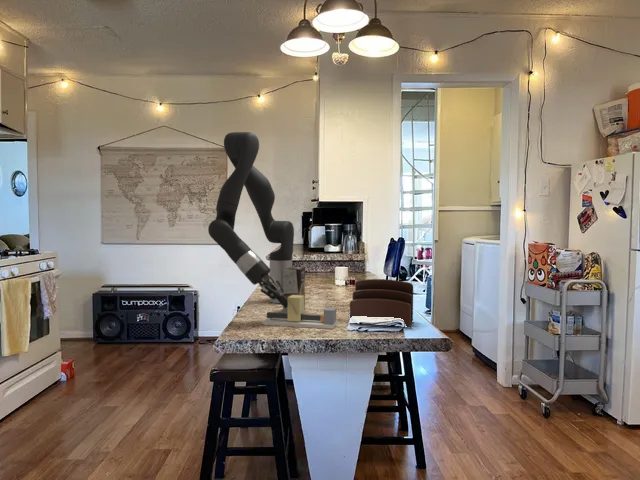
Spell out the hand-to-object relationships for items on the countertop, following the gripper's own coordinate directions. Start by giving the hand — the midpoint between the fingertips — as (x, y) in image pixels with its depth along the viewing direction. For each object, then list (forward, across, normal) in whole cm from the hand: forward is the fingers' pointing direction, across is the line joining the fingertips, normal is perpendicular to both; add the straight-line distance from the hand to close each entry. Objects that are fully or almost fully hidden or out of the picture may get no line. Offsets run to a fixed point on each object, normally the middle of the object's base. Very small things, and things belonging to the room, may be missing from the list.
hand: (288, 305), depth 147 cm
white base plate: (+7, 0, +1) cm, 7 cm away
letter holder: (+25, +9, -17) cm, 32 cm away
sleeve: (+5, 0, +1) cm, 5 cm away
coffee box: (+2, +19, +7) cm, 20 cm away
